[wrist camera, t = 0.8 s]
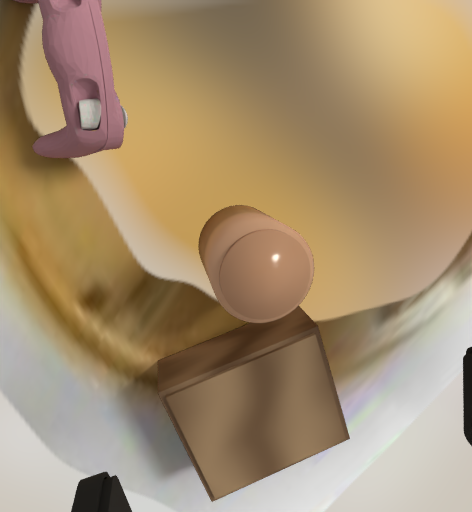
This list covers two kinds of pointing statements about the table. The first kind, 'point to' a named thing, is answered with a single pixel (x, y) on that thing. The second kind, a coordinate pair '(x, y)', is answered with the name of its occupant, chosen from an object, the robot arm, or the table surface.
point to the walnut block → (252, 401)
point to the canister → (255, 264)
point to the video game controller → (80, 79)
